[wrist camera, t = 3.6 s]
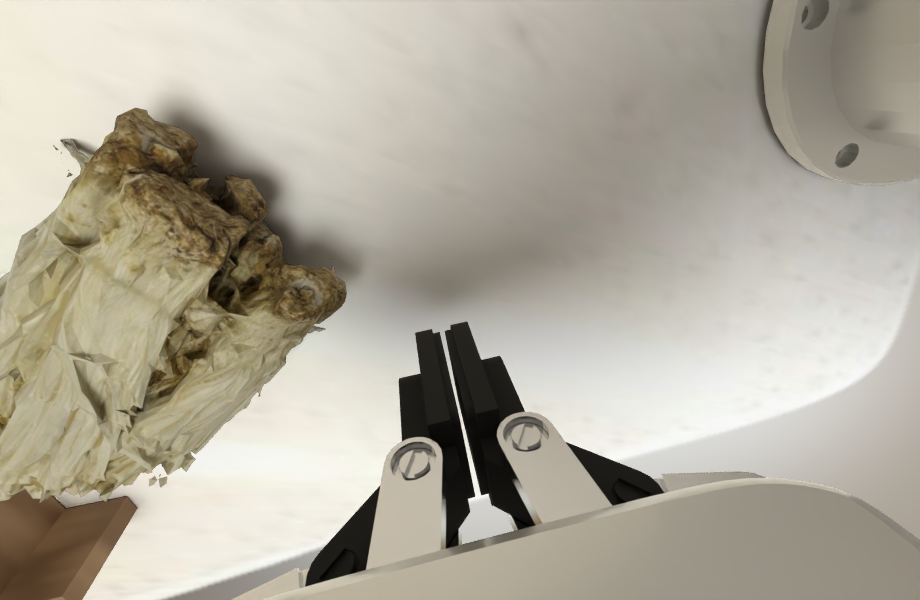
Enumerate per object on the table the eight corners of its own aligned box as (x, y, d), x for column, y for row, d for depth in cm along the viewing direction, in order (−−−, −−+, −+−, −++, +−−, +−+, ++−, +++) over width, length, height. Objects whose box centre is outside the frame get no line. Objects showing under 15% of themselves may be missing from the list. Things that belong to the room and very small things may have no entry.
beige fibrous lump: (125, 56, 12) (-46, 43, 7) (377, 256, 16) (368, 329, 12) (-56, 356, 16) (-245, 473, 11) (186, 457, 20) (121, 573, 15)
